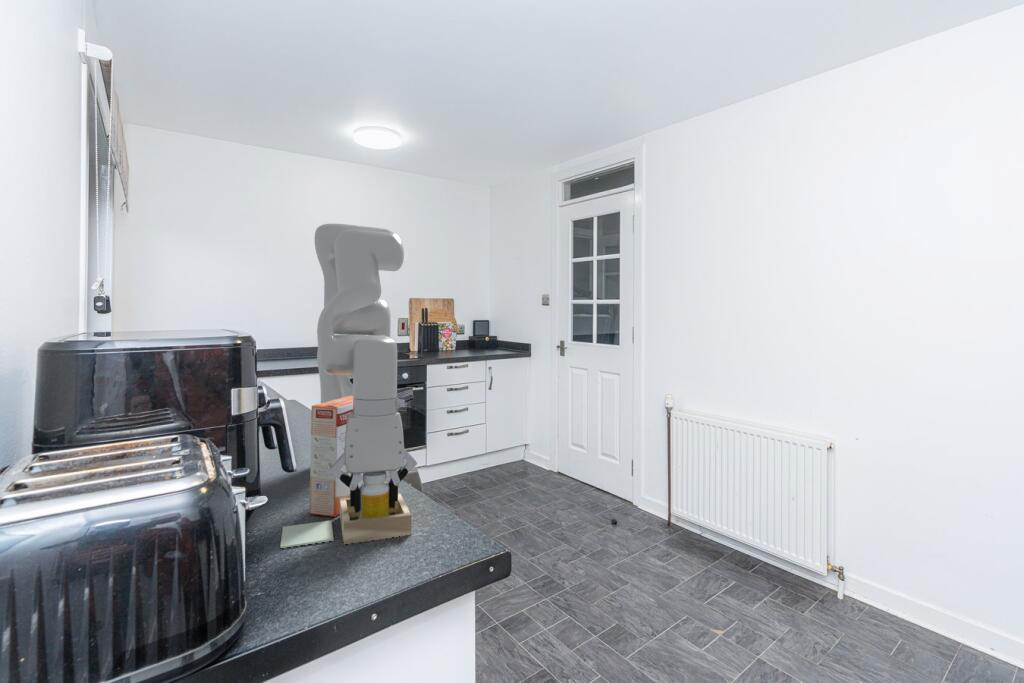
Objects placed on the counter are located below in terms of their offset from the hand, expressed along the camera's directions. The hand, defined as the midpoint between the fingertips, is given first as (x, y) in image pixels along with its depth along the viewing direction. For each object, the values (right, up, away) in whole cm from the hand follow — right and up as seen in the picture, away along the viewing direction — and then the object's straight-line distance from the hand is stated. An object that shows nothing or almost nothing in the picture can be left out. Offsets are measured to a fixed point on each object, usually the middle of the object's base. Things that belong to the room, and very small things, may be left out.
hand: (374, 506), depth 86 cm
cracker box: (-9, -3, +10) cm, 14 cm away
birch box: (0, -3, 0) cm, 3 cm away
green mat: (-10, -3, -4) cm, 12 cm away
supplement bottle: (0, -4, 0) cm, 4 cm away
